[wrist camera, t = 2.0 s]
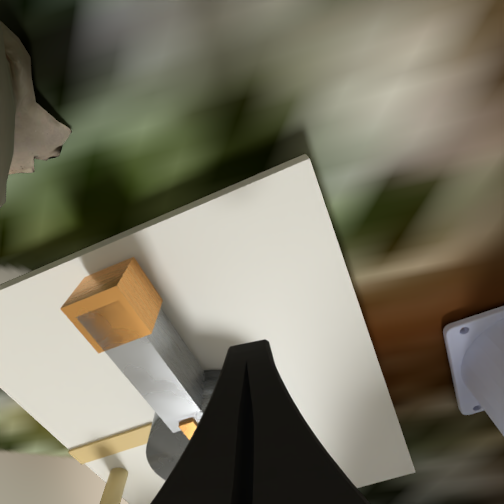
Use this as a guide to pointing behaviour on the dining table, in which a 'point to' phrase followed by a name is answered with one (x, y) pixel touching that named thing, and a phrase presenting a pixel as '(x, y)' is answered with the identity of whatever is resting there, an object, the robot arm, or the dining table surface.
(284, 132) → the dining table surface
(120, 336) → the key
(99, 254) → the board
